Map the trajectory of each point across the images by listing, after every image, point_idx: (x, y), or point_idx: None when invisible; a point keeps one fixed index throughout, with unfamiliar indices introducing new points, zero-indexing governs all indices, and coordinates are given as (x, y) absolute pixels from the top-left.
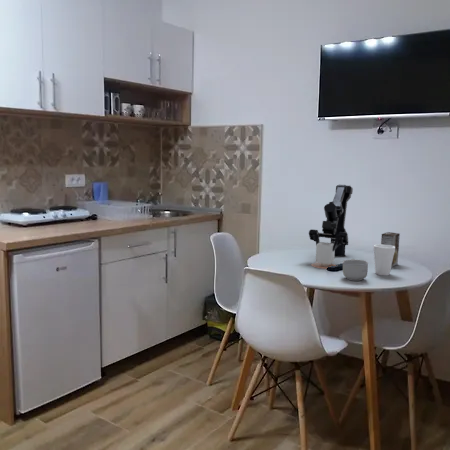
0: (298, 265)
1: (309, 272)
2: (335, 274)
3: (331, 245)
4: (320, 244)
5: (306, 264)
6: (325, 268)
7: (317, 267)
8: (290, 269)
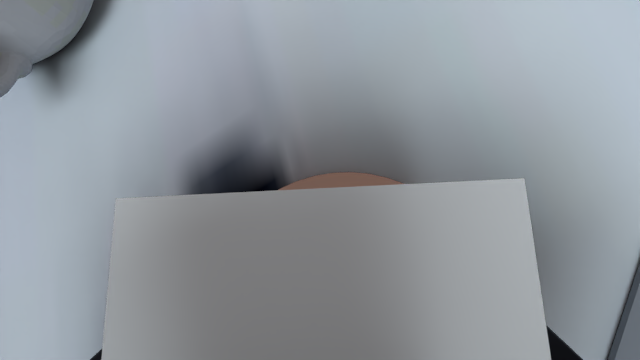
0: (621, 224)
1: (400, 6)
2: (187, 67)
3: (131, 254)
4: (424, 231)
5: (568, 331)
6: (302, 185)
7: (386, 182)
8: (599, 9)
